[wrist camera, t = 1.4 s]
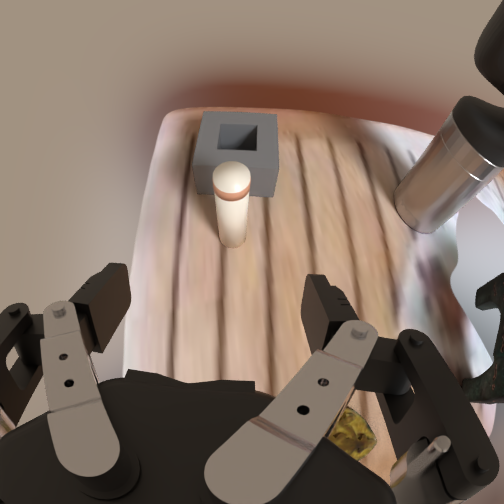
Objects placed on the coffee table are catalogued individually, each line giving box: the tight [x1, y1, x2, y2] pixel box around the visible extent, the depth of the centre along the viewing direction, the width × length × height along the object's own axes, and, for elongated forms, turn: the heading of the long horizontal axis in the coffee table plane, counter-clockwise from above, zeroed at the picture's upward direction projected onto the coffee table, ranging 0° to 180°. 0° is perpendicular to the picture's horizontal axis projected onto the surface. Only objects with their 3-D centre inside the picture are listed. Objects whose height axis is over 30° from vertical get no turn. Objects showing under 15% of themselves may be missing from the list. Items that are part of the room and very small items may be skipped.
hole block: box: [192, 111, 279, 197], centre depth 36 cm, size 10×10×6 cm
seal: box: [328, 407, 377, 461], centre depth 24 cm, size 9×5×15 cm
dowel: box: [212, 161, 251, 248], centre depth 29 cm, size 3×3×12 cm
